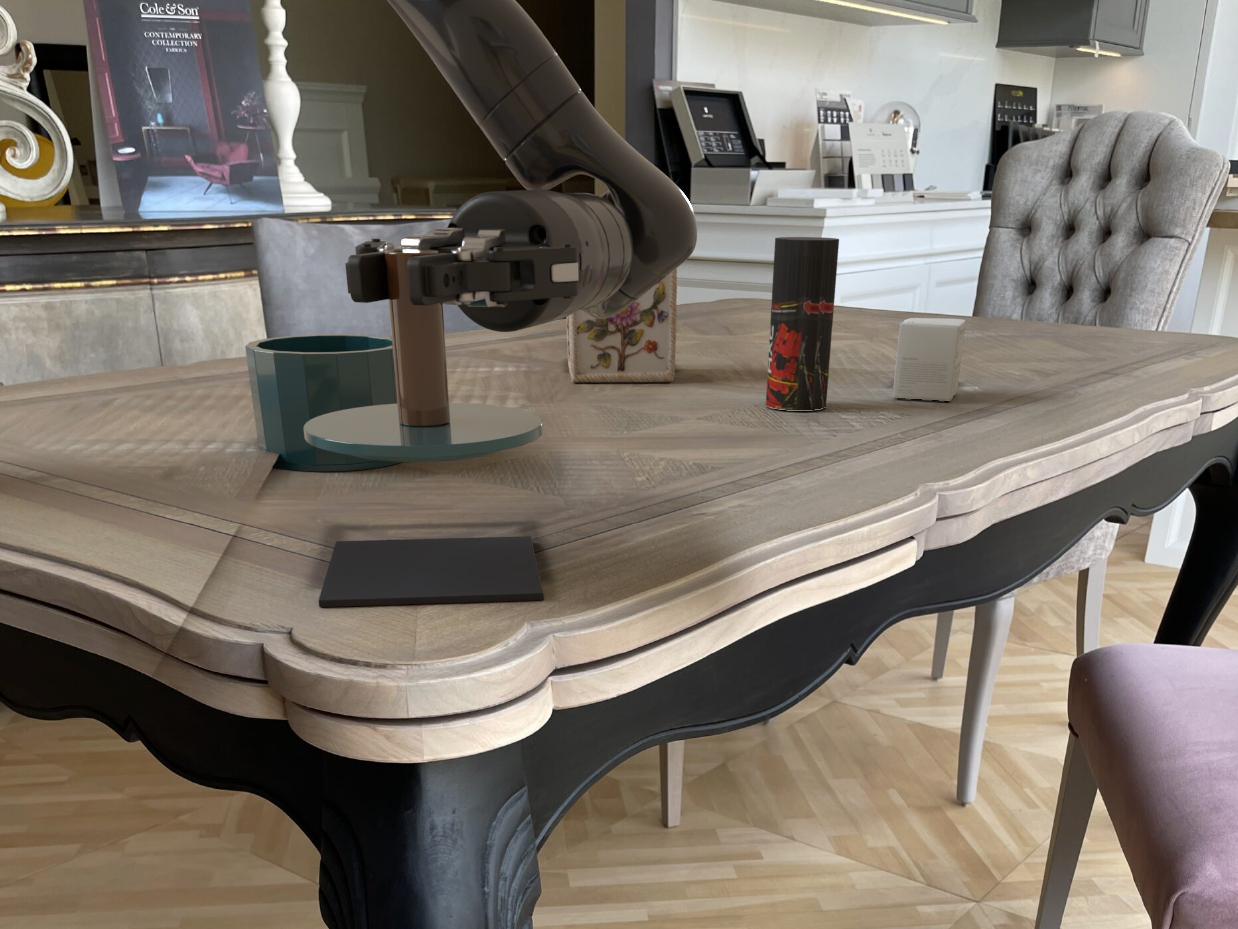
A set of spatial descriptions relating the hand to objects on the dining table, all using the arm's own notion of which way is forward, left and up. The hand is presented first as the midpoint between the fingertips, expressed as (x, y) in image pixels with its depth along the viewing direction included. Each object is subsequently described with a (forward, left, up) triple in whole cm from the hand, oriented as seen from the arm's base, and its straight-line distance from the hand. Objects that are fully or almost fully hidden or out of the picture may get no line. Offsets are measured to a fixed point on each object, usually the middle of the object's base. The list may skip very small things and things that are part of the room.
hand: (385, 281), depth 63 cm
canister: (-7, +37, -16) cm, 40 cm away
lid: (+1, +3, -8) cm, 8 cm away
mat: (+1, +3, -16) cm, 16 cm away
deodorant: (+36, +57, -16) cm, 69 cm away
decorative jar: (+21, +79, -16) cm, 83 cm away
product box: (+51, +62, -16) cm, 82 cm away
